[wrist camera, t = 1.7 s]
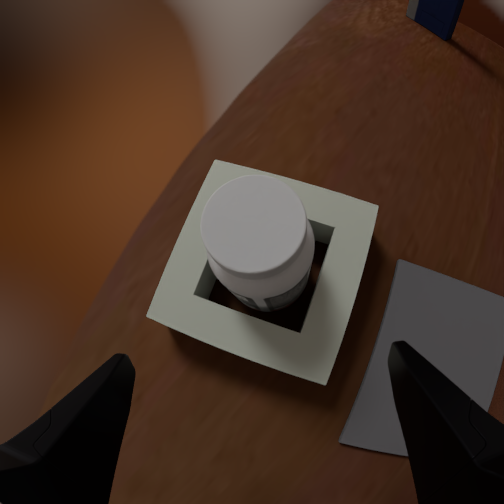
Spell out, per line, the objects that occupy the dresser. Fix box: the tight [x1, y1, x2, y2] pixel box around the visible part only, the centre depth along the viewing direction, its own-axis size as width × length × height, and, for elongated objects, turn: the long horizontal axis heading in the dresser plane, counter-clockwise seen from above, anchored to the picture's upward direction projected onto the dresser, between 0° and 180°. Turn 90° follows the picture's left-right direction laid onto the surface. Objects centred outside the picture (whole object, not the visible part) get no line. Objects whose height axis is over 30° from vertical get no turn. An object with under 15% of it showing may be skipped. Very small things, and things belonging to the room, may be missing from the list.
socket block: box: [146, 160, 379, 385], centre depth 21 cm, size 12×12×4 cm
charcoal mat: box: [338, 259, 504, 456], centre depth 19 cm, size 14×12×1 cm
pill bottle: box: [200, 175, 315, 312], centre depth 18 cm, size 6×6×10 cm
